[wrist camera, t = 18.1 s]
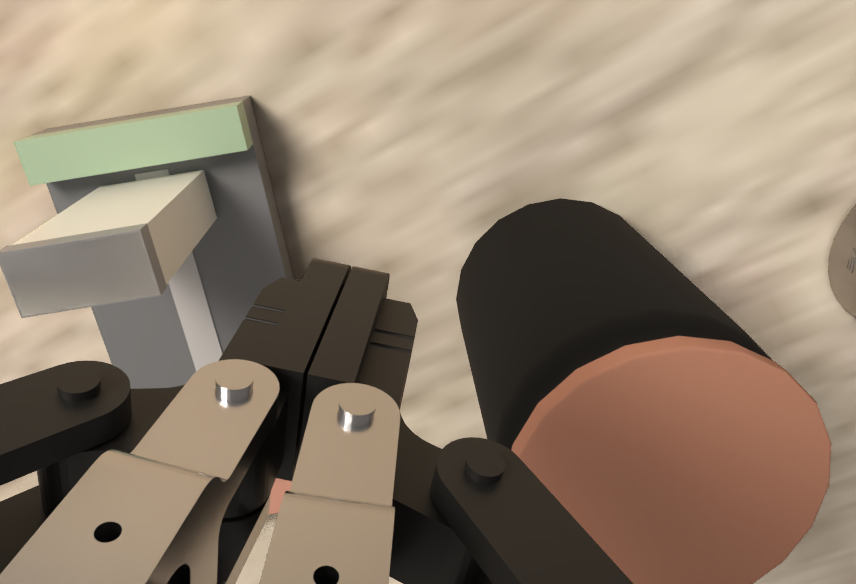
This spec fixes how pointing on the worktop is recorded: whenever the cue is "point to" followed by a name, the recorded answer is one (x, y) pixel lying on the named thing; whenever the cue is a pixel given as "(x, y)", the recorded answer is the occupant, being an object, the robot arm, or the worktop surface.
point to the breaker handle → (110, 245)
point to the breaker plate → (211, 258)
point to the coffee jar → (638, 399)
